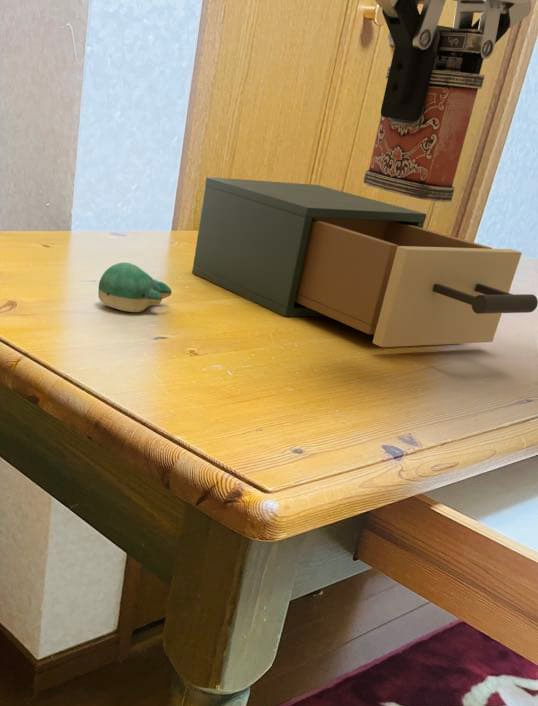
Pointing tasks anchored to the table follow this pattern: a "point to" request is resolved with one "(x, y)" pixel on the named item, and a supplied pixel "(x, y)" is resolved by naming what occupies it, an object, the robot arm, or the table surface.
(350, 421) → the table surface
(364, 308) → the drawer
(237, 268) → the cabinet
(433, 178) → the lighter
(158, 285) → the whale figurine
